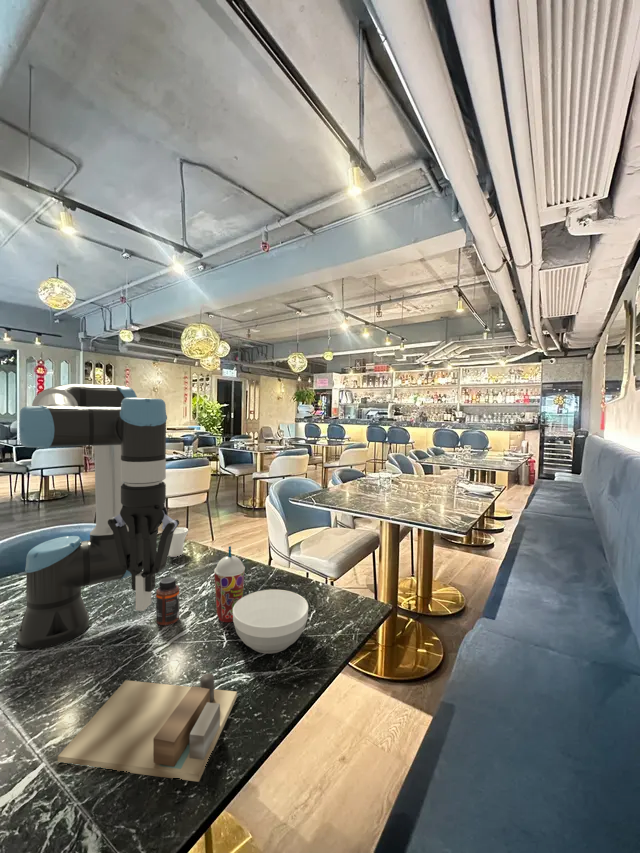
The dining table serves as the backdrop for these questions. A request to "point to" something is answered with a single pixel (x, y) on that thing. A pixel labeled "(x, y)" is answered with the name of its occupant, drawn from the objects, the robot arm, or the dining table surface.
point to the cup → (178, 542)
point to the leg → (179, 727)
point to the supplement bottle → (167, 602)
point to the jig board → (148, 730)
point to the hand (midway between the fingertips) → (143, 606)
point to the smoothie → (228, 585)
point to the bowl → (270, 619)
